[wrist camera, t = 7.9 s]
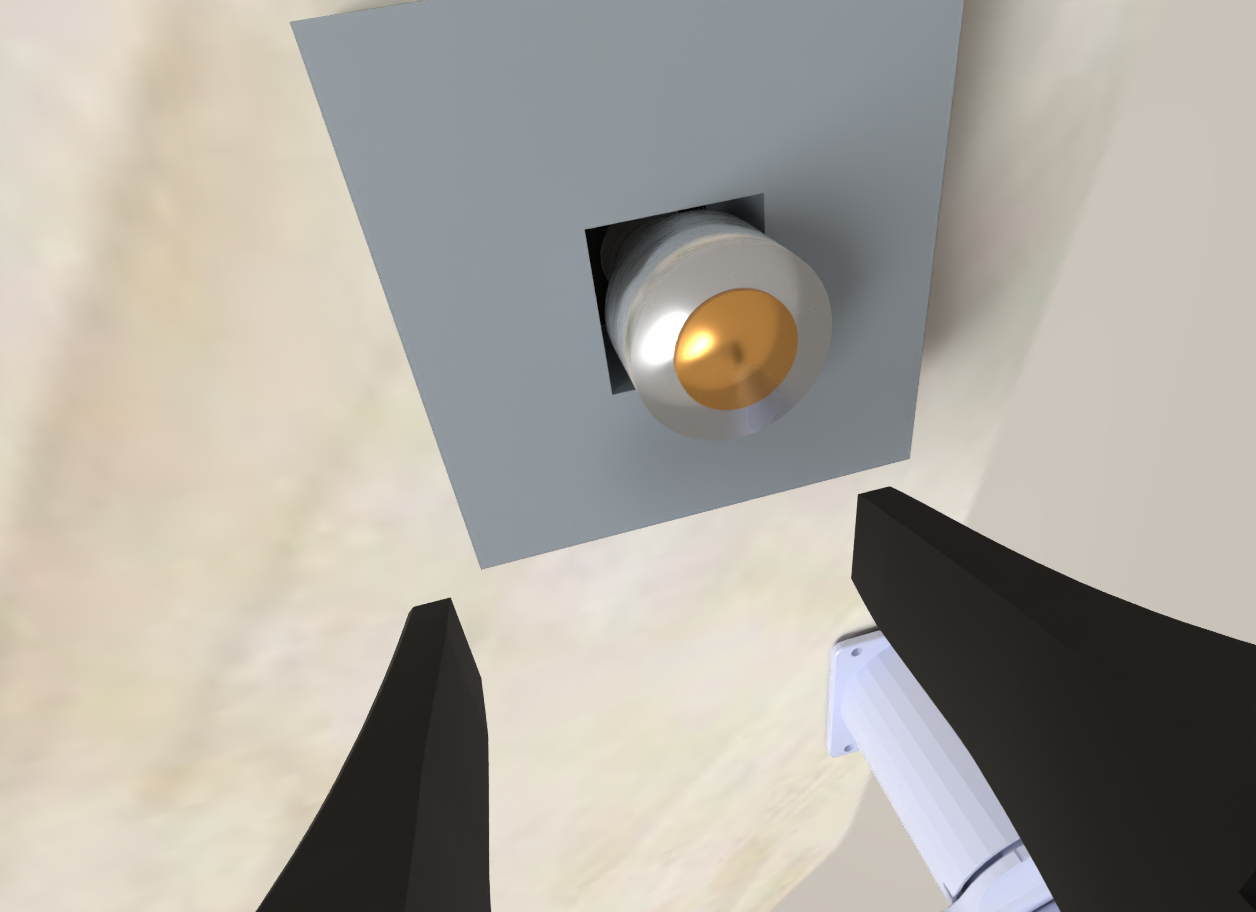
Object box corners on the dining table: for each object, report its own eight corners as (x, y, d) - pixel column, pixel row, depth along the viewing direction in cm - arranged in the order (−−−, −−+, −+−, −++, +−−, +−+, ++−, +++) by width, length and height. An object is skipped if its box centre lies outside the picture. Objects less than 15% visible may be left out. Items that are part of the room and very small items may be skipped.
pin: (718, 163, 18) (846, 229, 12) (720, 310, 20) (829, 424, 14) (564, 185, 17) (624, 266, 11) (584, 335, 19) (643, 462, 14)
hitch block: (861, -66, 16) (974, -88, 12) (839, 393, 22) (909, 458, 19) (323, 20, 14) (289, 21, 11) (474, 482, 21) (481, 569, 18)
